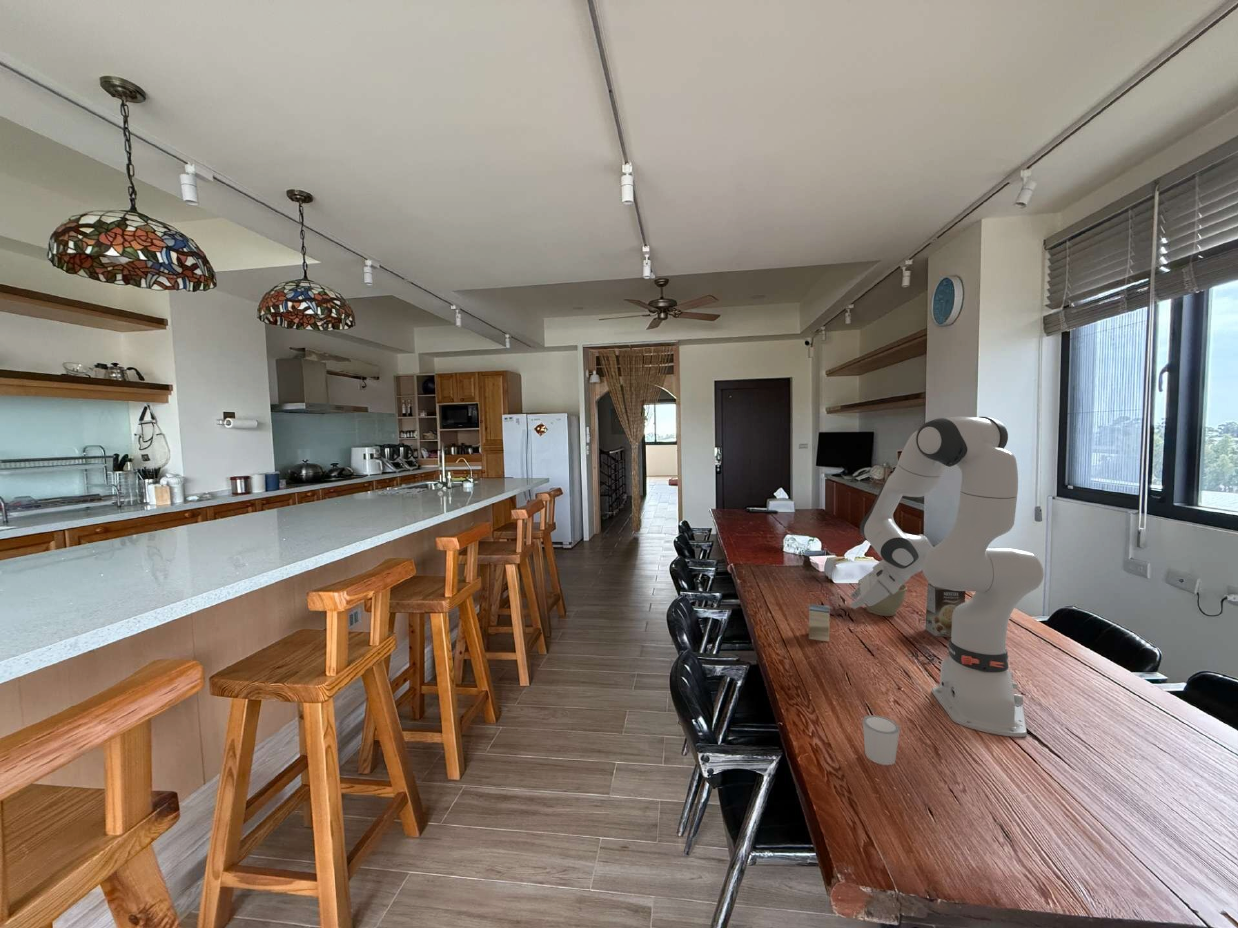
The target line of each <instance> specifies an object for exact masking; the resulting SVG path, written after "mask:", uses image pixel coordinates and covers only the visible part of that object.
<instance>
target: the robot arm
mask: <svg viewBox="0 0 1238 928" xmlns="http://www.w3.org/2000/svg"><path fill="white" fill-rule="evenodd" d="M1008 441H1009V433H1008V430H1007V428H1006V426H1005V425H1004V423H1002V422H1001V421H1000V420H997V419H995V418H993V417H989V416H964V415H961V416H958V415H957V416H951V417H944V418H943V417H939V418H934V419H932V420H929V421H926V422H925V423H923V424H922V425H921V426H920V427H919V428H918V430H915V432H913V433H912V434H911V435H910V436H909V438H908V440H907V441H906V443H905V445H904V447H903V449H902V451H901V454H900V456H899V458H898V462H897V464H896V466H895V468H894V470H893V472H891V473H890V474H889V475H888V476H887V477H886V479H885V480H884V482H883V484H882V486H881V488H880V490H879V492H878V494H877V496H876V498H875V500H874V501H873V504H872V506H871V508H870V509H869V511H868V513H866V515H865V516H864V518H863V519H862V520H861V522H860V524H859V532H860V534H861V536H862V537H863V538H864V540H866V541H867V542H868V543H869V544H870V546H871V547H872V549H873V550H874V551H875V552H876V554H878V556H879V557H880V558H881V559H882V560H880V561H879V562H877V563H876V564H875V565H874V566H873V567H872V569H873V570H871V571H870V572H867V574H865V575H864V576H862V577H861V578H860V579H861V580H860V586H859V585H858V586H857V587H856V589H854V591H853V592H852V593H850V597H851V598H852V599H853V601H852V602H850V606H851V608H852V609H854V610H856V609H857V608H859V607H861V606H863V605H864V606H865V603H866V604H867V605H868V606H872V605H875V604H876V603H878V602H880V601H881V600H883V599H884V598H886V597H887V596H889V595H890V593H892V594H895V593H896V592H897V591H898V590H899V588H900V586H902V584H904V585H905V583H906V582H908V581H909V579H910V578H911V577H913V576H914V575H916V574H918V573H920V572H922V574H923V576H924V577H925V579H926V580H927V582H928V584H931V585H933V586H935V587H939V588H943V589H948V590H953V591H965V592H974V594H973V596H972V597H970V599H968V600H967V601H965V603H962V604H960V605H959V606H957V607H956V608H955V609H954V611H953V613H952V632H951V637H950V639H949V641H948V656H947V657H946V658H945V659H943V660H942V661H941V665H940V675H939V686H938V685H937V686H932V688H931V693H932V694H933V696H934V697H935V698H936V700H937V701H938V703H939V704H940V705H941V707H942V708H943V709H944V711H945V712H946V713H947V714H948V716H949V717H950V719H951V721H953V722H954V723H956V724H957V725H960V726H964V727H965V728H969V729H973V730H976V731H979V732H983V733H988V734H993V735H999V736H1005V737H1014V738H1018V737H1019V738H1022V737H1023V738H1024V737H1027V736H1028V732H1027V726H1026V725H1027V724H1026V719H1025V712H1024V705H1023V704H1024V698H1023V695H1022V694H1017V693H1014V689H1015V690H1017V689H1018V683H1017V682H1014V681H1013V672H1012V671H1011V670H1010V668H1009V662H1010V661H1009V655H1008V653H1009V652H1008V650H1007V649H1006V646H1007V635H1008V626H1009V625H1008V624H1009V621H1010V618H1011V615H1012V613H1013V611H1014V610H1015V608H1016V607H1017V605H1018V604H1019V603H1020V602H1021V600H1022V599H1023V598H1025V597H1026V596H1027V595H1029V594H1030V593H1031V592H1033V591H1036V590H1037V589H1038V588H1039V587H1040V586H1041V585H1042V583H1043V580H1044V576H1045V575H1044V574H1045V571H1044V567H1043V565H1042V563H1041V561H1040V559H1039V558H1038V557H1037V556H1036V555H1035V554H1034V553H1032V552H1031V551H1027V550H1023V549H1017V548H1012V547H1005V546H1004V547H1003V546H1002V547H998V546H996V547H995V546H989V545H991V544H992V542H993V541H994V540H995V539H997V538H999V537H1001V536H1003V535H1006V534H1007V533H1008V532H1010V531H1011V530H1012V529H1013V527H1014V525H1015V521H1016V519H1015V518H1016V509H1017V501H1018V492H1019V471H1018V463H1017V459H1016V457H1015V455H1014V454H1013V453H1012V452H1011V451H1009V450H1007V449H1005V448H1006V446H1007V444H1008ZM953 466H957V467H958V468H959V469H960V472H961V482H960V483H961V484H960V492H959V502H958V508H957V509H958V510H957V513H956V519H955V522H954V524H953V526H952V528H951V529H950V531H949V533H948V534H947V535H946V537H945V538H944V539H942V541H941V542H939V543H938V544H936V545H934V544H933V543H932V541H931V539H929V538H928V537H927V535H924V534H923V533H922V534H921V533H919V534H910V533H907V532H904V531H902V529H901V528H900V527H899V526H898V524H896V522H895V519H894V514H895V513H894V512H895V511H896V509H897V507H898V505H899V504H900V501H901V499H902V497H910V498H921V497H925V496H927V495H930V494H932V493H933V492H934V491H935V490H936V488H937V487H938V485H939V484H940V481H941V478H942V475H943V472H944V470H945V468H946V467H949V468H951V467H953ZM860 594H861V596H860Z"/></svg>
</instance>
